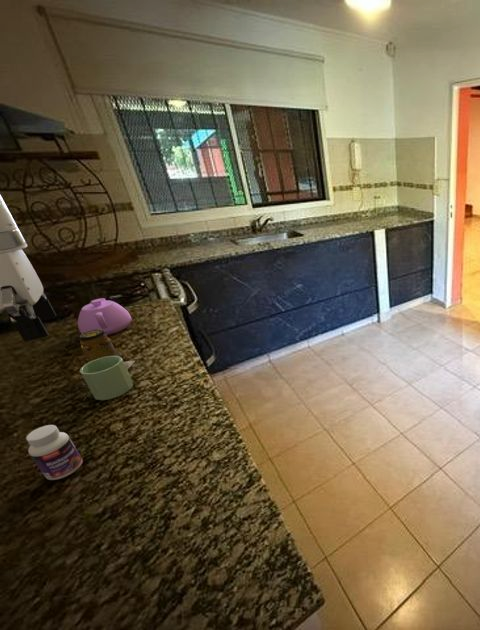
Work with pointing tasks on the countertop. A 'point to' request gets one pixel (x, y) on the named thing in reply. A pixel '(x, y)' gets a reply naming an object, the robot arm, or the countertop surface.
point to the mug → (106, 377)
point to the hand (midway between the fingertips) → (42, 328)
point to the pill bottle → (53, 452)
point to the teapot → (103, 317)
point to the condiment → (98, 346)
